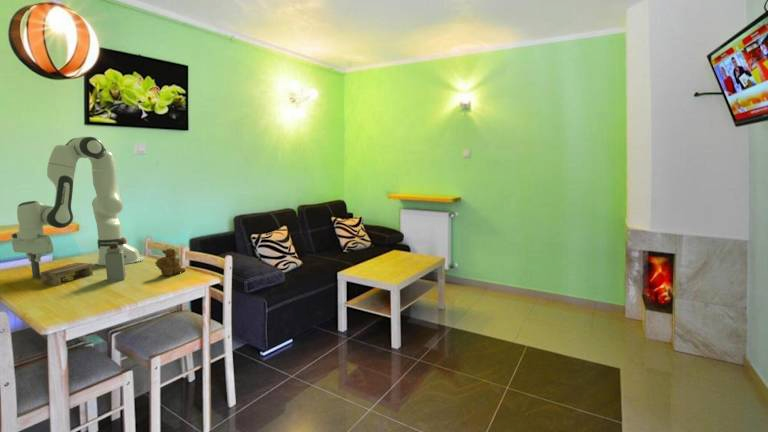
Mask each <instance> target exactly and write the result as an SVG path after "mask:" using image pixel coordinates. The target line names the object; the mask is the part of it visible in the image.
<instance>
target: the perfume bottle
mask: <svg viewBox="0 0 768 432" xmlns="http://www.w3.org/2000/svg"><path fill="white" fill-rule="evenodd" d="M106 250H107V252H106V254H105V262H106V265H105V270H106V282H108V283H109V282H118V281H124V280H125V279H126V277H127V276H126V274H127V273H126V266H125V265H126V264H125V263H124V252H123V250H122V251H121V246H119V247H118V243H110V244H109V247H108V248H107V249H106Z"/></svg>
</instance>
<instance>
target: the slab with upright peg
mask: <svg viewBox="0 0 768 432" xmlns="http://www.w3.org/2000/svg"><path fill="white" fill-rule="evenodd" d="M36 256H37V255H35V253H33V254H30V257H31V262H30V265H31V273H32V276H31V278H32V279H41V270H40V262H35V260H34V259H35V258H36ZM65 275H66V274H63V275H60V276H61V279H63V278H66V276H65Z"/></svg>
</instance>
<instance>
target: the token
mask: <svg viewBox="0 0 768 432" xmlns="http://www.w3.org/2000/svg"><path fill="white" fill-rule="evenodd" d="M61 279H62V280H61V281H63V282H68V281H69V282H70V281H73V280H75V276H74V277H73V276H68V277H67V276H66V277H63V278H61Z"/></svg>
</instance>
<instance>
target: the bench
mask: <svg viewBox="0 0 768 432" xmlns="http://www.w3.org/2000/svg"><path fill="white" fill-rule="evenodd" d="M73 272H74V276H85V277H86V276H88V277H91V276H94V275H93V273H94V272H93V263H91V262H90V263H89V262H75V263H70V264H66V265H62V266H59V267H55V268H52V269H48V270H44V271H40V275H41V278H40V279H41V284H42V285H44V286H45V285H46V286H61V285H62V280H61V279H62V278H61V276H60V275H63V274H65V275H67V274H71V273H73ZM42 285H41V286H42Z"/></svg>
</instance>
